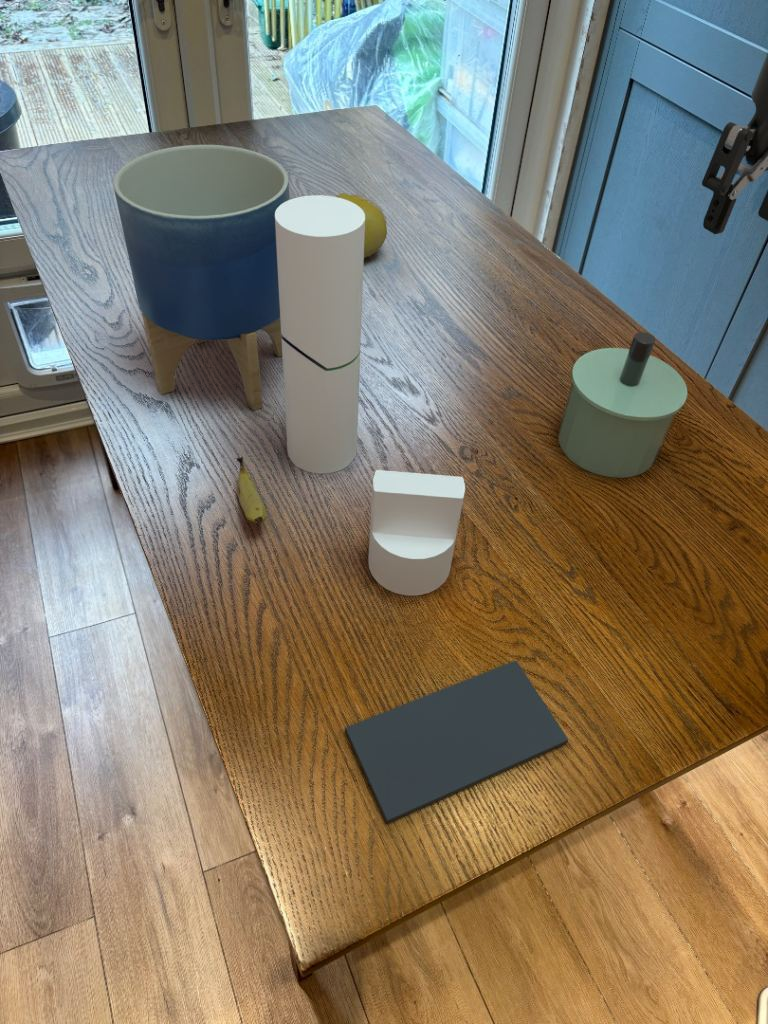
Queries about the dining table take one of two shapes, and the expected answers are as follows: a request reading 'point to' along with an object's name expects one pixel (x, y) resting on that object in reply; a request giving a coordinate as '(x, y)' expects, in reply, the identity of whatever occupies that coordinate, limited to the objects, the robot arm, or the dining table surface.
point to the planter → (204, 252)
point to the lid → (630, 381)
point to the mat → (453, 739)
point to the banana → (249, 496)
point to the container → (320, 327)
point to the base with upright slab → (413, 529)
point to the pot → (609, 439)
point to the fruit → (370, 222)
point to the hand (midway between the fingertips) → (740, 224)
